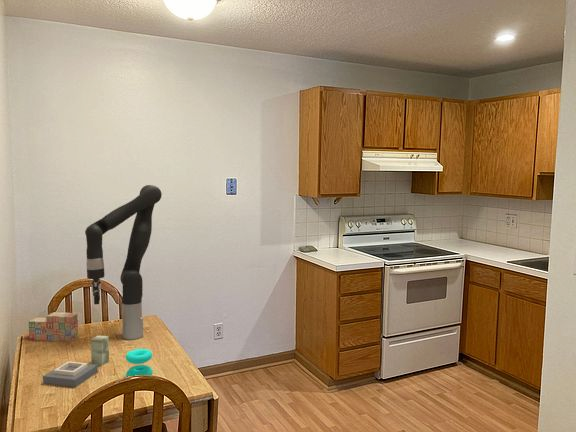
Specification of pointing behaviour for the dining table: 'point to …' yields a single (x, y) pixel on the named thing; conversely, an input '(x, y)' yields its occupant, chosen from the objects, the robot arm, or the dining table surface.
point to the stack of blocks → (54, 327)
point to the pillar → (100, 350)
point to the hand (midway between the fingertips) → (97, 302)
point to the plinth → (70, 374)
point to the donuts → (139, 362)
